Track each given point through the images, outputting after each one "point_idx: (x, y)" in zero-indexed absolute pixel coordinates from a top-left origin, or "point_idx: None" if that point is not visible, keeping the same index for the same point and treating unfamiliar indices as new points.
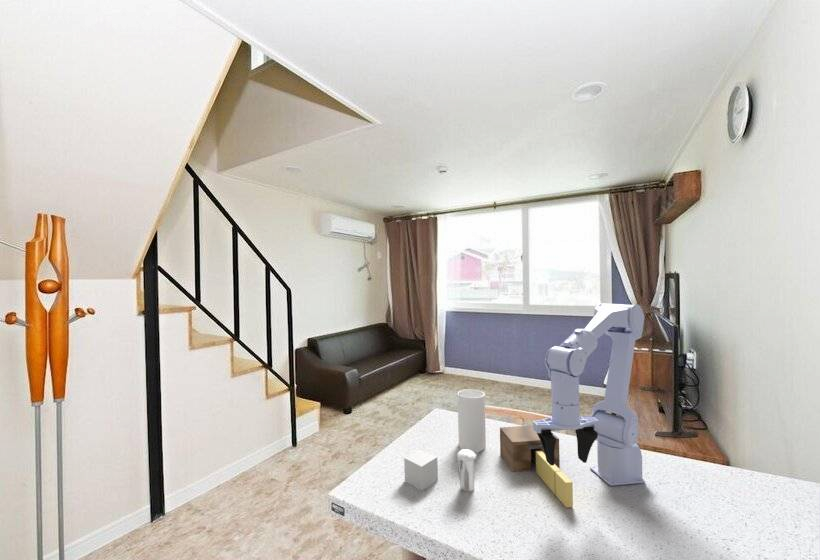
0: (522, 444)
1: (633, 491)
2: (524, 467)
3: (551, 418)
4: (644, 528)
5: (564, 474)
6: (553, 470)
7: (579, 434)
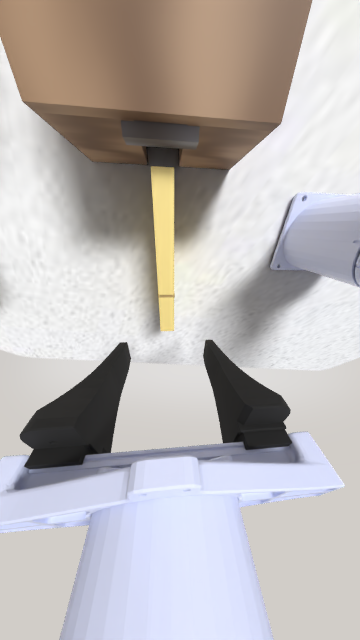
0: (89, 117)
1: (288, 285)
2: (125, 160)
3: (93, 511)
4: (229, 343)
5: (173, 308)
6: (158, 290)
7: (228, 401)
